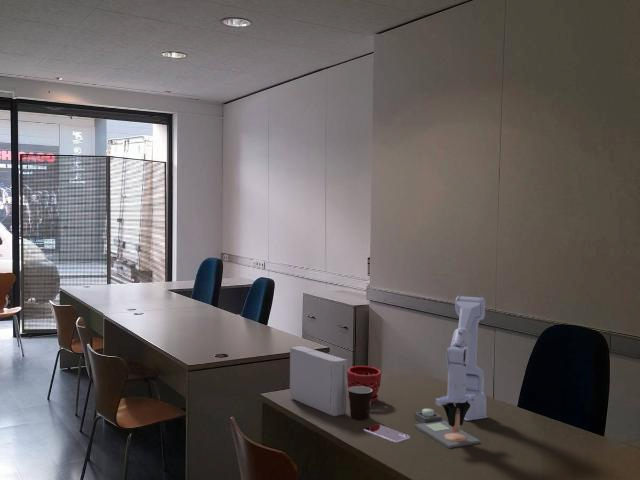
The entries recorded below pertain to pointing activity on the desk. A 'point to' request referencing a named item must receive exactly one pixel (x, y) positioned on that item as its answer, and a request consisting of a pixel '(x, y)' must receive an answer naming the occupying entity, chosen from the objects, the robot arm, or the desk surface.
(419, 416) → the button housing
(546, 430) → the desk surface
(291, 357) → the game console
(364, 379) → the plant pot
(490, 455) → the desk surface
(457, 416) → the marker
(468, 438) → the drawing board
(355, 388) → the coffee mug
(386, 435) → the mobile phone
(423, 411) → the button
